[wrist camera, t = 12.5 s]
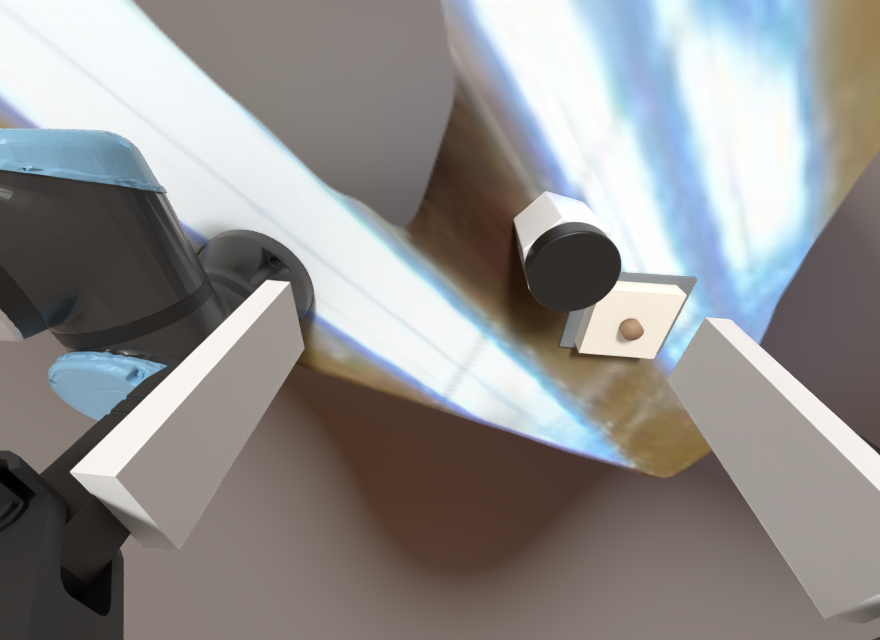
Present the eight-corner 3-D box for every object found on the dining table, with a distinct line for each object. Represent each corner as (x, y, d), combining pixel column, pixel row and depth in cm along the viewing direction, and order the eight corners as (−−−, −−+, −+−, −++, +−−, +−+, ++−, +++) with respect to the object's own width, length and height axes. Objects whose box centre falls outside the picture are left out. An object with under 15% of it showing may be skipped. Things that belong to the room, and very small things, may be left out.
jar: (539, 274, 44) (558, 329, 34) (497, 230, 41) (505, 276, 31) (602, 227, 40) (644, 274, 30) (561, 174, 37) (593, 207, 27)
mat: (558, 343, 50) (559, 346, 50) (580, 269, 43) (581, 271, 43) (656, 351, 50) (658, 353, 49) (694, 277, 43) (697, 279, 42)
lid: (574, 341, 49) (581, 360, 46) (595, 279, 43) (605, 295, 40) (645, 347, 49) (658, 366, 45) (676, 285, 43) (693, 301, 40)
